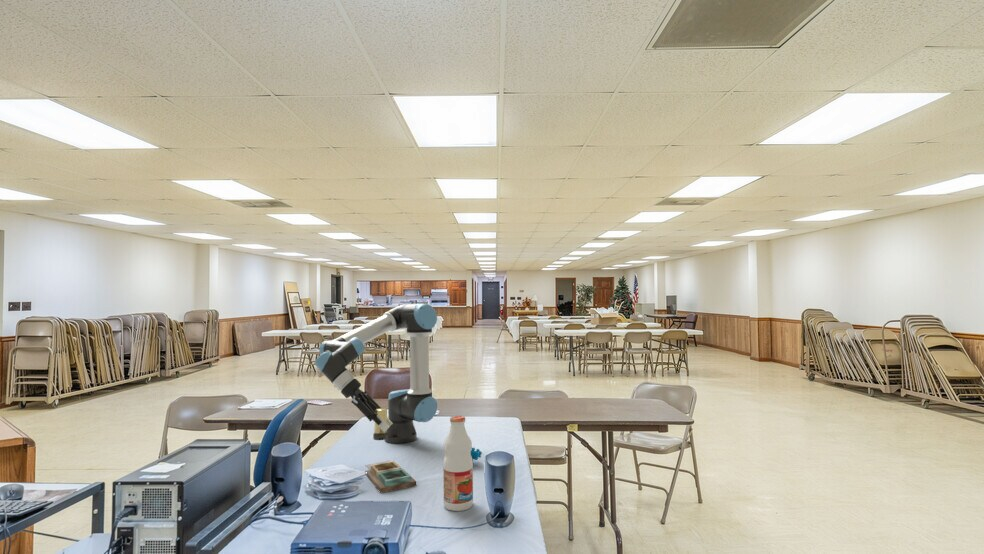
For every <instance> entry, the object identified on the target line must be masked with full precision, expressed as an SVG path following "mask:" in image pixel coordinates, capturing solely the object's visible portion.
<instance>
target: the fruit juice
mask: <svg viewBox="0 0 984 554" xmlns="http://www.w3.org/2000/svg"><path fill="white" fill-rule="evenodd" d="M465 423H466V417H465V416H464V415H453V416H450V417H449V424H450V429H449V432H448V435H447V436H446V438H445V440H444V442H443V450H444V458H443V464H442V465H443V505H444V508H445V509H446V510H448V511H452V512H462V511H466V510H469V509H471V507H473V505H474V504H473V503H474V487H473V485H474V479H473V478H474V475H473V471H474V470H473V468H474V467H473V465H474V464H473V461H472V457H471V450H472V448H473V442H472V439H471V438H470V436H469V435H468V433H467V431H466V430H467V429H466V427H465Z"/></svg>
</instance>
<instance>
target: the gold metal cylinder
mask: <svg viewBox="0 0 984 554" xmlns="http://www.w3.org/2000/svg"><path fill="white" fill-rule="evenodd" d="M375 413H376V414H377V415H379V416H380V417H381V418H382V419H383V420H384V421H385V422H386V423H387V418H388V408H382V407H381V408H380V409H375ZM373 427H374V430H373V432H374V433H372V434H373V435H372V436H373V437H372V438H373V440H375V441H385V439H387V433H386V431H385V432H383V431H382V429H381V428H380V427H379V426H378V425H377V424H376V423H375V422H374V426H373Z"/></svg>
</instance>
